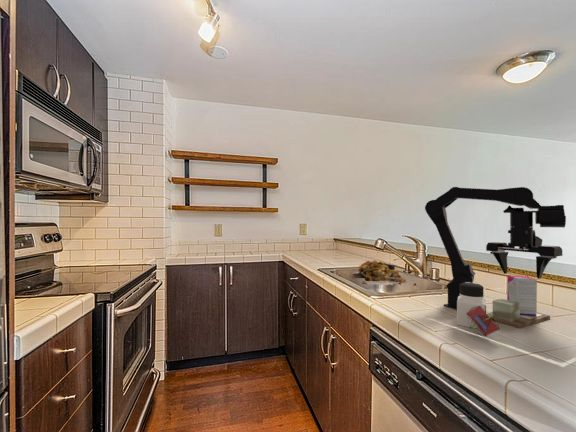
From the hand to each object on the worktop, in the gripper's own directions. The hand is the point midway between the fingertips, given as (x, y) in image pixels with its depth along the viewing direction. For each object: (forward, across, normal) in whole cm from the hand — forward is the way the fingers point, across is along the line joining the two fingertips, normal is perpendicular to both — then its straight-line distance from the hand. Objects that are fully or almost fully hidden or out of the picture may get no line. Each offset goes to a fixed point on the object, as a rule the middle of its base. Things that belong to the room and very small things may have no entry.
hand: (521, 275), depth 95 cm
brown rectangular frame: (+13, 0, +3) cm, 13 cm away
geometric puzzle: (+13, -4, +27) cm, 30 cm away
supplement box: (+12, 0, 0) cm, 12 cm away
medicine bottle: (+13, +3, +21) cm, 25 cm away
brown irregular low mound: (+14, +66, -5) cm, 68 cm away
